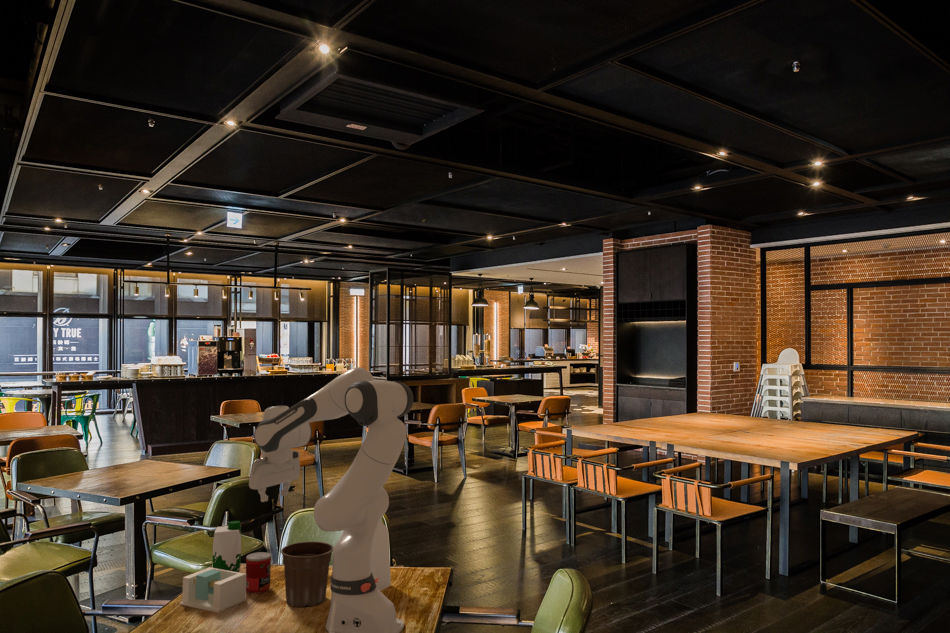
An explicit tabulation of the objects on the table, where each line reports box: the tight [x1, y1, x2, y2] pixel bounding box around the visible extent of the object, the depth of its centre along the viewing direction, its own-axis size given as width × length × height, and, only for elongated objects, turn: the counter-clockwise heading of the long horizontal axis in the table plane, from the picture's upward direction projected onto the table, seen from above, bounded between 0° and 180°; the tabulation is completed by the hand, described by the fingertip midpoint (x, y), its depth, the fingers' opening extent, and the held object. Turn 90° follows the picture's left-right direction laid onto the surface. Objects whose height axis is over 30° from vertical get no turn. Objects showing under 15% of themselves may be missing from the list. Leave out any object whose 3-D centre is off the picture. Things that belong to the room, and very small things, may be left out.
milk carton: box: [211, 520, 242, 573], centre depth 219 cm, size 9×9×20 cm
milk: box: [371, 520, 392, 592], centre depth 214 cm, size 12×12×26 cm
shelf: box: [179, 566, 247, 614], centre depth 201 cm, size 16×11×8 cm
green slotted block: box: [195, 569, 221, 600], centre depth 199 cm, size 4×6×7 cm, turn 156°
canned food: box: [245, 551, 272, 594], centre depth 212 cm, size 8×8×11 cm
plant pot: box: [280, 541, 334, 608], centre depth 202 cm, size 16×16×16 cm
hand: (274, 498), depth 207 cm, fingers open, 8 cm apart
